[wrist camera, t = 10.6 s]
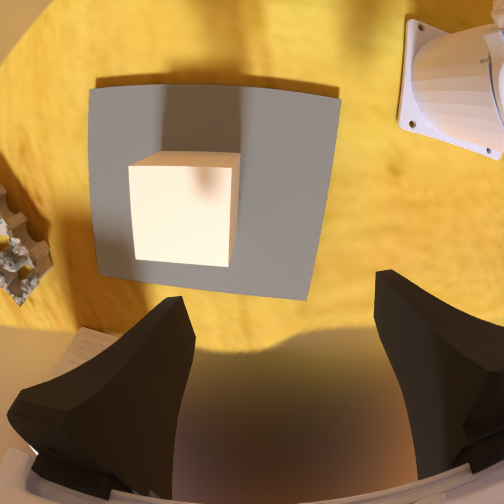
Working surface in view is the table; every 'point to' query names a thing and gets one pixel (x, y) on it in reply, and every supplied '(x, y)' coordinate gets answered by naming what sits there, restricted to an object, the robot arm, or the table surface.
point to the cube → (185, 206)
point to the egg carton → (20, 254)
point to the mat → (250, 183)
